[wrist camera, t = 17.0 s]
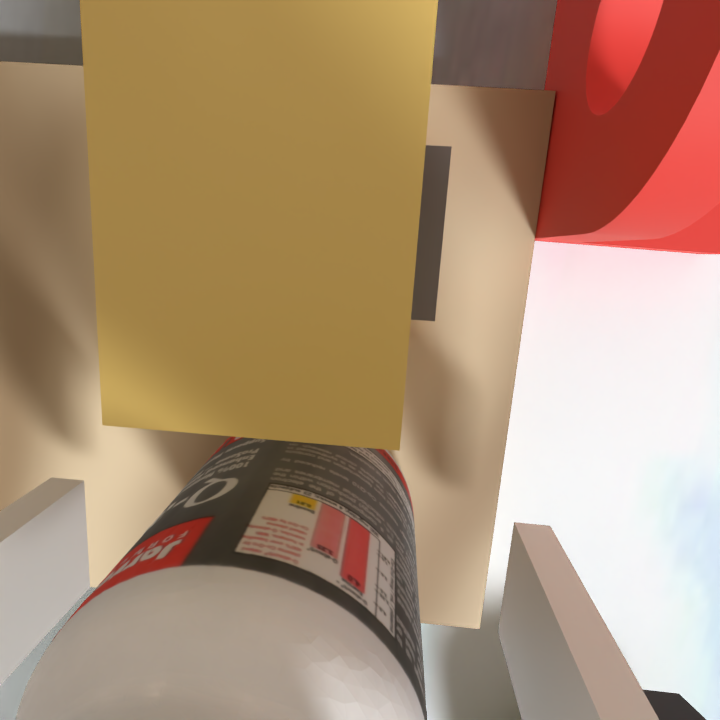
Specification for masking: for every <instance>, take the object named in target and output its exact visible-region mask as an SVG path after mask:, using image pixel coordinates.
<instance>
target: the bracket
mask: <svg viewBox="0 0 720 720" xmlns="http://www.w3.org/2000/svg"><path fill="white" fill-rule="evenodd" d="M544 90H551V91H556V93H555V100H554V107H553V114H552V121H551V128H550V135H549V143H548V150H547V157H546V164H545V171H544V178H543V185H542V192H541V199H540V206H539V213H538V220H537V227H536V234H535V241H546V242H558V243H571V244H583V245H596V246H608V247H620V248H633V249H645V250H658V251H670V252H682V253H695V254H720V0H558V1H557V7H556V14H555V21H554V28H553V34H552V41H551V48H550V55H549V61H548V68H547V75H546V82H545V88H544Z"/></svg>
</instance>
